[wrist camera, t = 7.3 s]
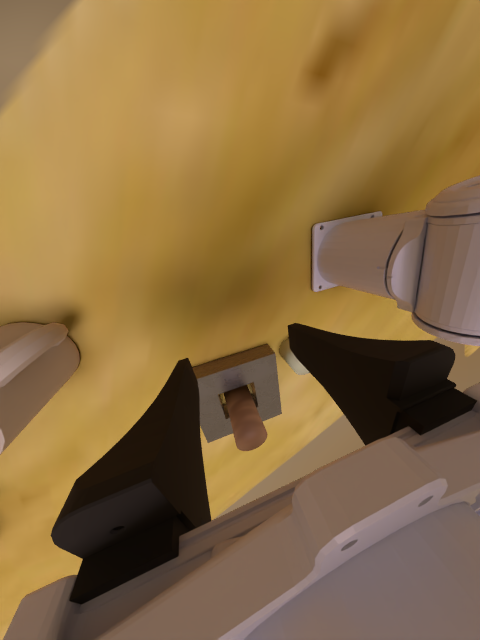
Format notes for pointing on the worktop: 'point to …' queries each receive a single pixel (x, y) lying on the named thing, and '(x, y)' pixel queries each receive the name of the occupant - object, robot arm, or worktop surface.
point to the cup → (31, 372)
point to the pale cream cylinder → (291, 358)
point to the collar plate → (233, 374)
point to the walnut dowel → (245, 419)
